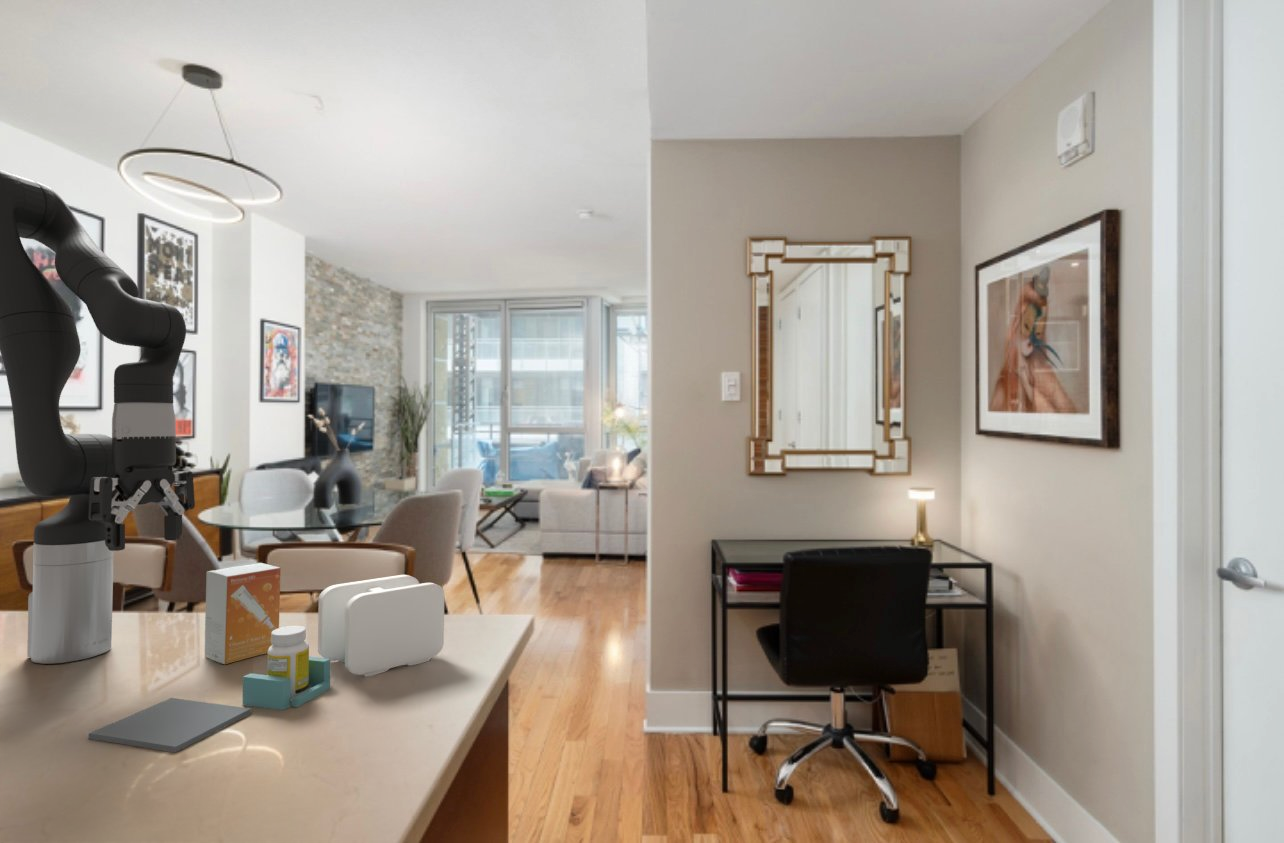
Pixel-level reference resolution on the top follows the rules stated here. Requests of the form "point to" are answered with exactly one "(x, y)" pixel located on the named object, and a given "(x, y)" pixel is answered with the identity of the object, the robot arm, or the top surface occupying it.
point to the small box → (241, 611)
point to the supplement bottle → (290, 657)
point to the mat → (170, 724)
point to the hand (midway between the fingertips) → (145, 545)
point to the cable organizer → (381, 623)
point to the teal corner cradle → (285, 687)
